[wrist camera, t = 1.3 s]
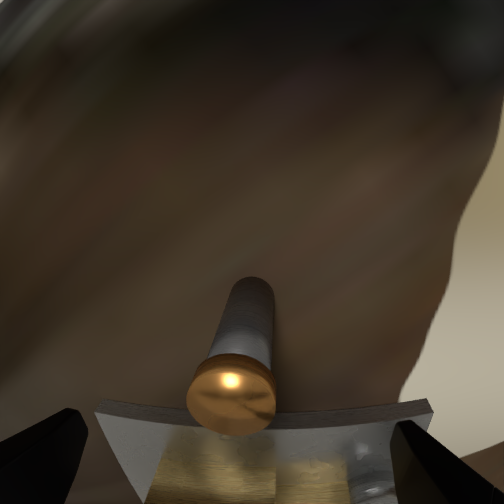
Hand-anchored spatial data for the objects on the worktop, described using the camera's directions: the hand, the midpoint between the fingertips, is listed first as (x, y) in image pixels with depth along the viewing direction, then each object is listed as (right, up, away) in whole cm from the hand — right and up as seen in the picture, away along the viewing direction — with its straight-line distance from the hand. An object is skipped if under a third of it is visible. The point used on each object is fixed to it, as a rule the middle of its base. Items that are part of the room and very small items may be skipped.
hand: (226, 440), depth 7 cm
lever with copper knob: (+1, +3, +9) cm, 9 cm away
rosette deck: (+2, -13, +13) cm, 18 cm away
